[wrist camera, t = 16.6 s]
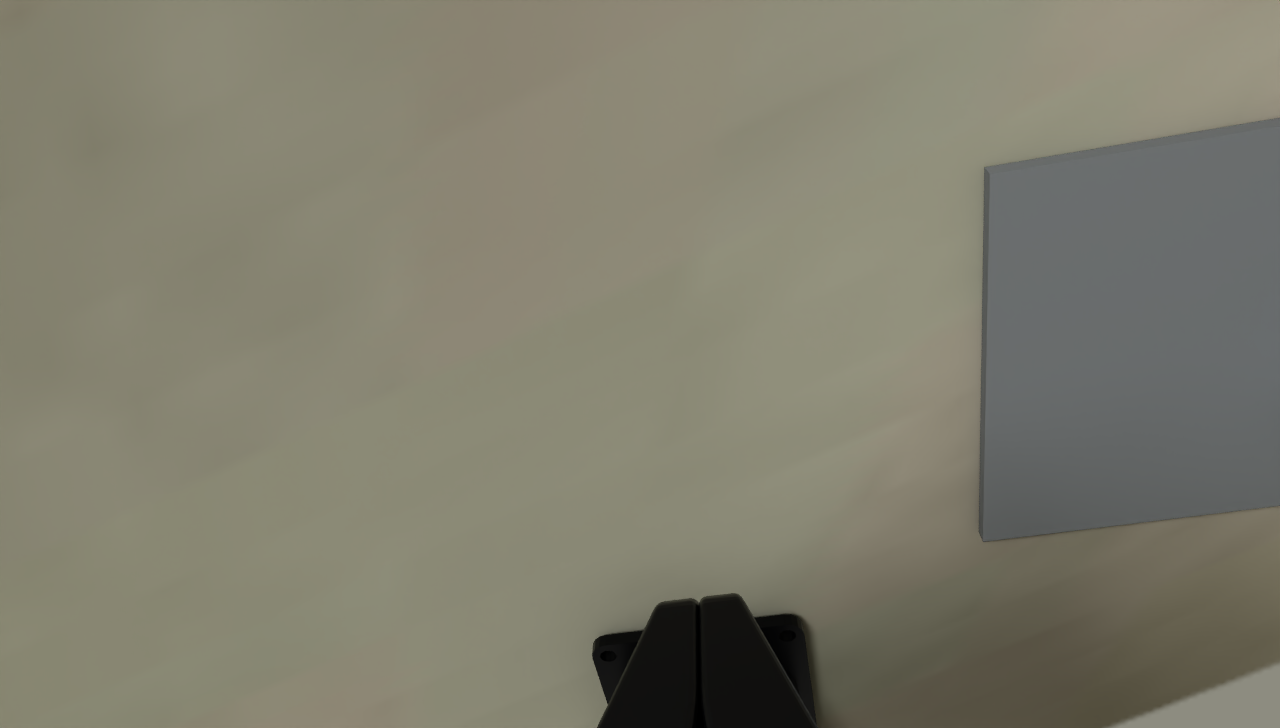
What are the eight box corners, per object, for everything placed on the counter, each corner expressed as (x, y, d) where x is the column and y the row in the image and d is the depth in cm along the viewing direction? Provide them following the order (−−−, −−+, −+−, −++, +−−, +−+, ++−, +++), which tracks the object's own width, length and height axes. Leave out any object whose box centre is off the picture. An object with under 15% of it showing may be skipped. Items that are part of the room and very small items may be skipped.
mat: (1478, 470, 25) (1490, 479, 24) (978, 531, 26) (983, 541, 26) (1644, 56, 19) (1661, 62, 18) (984, 167, 20) (990, 174, 20)
